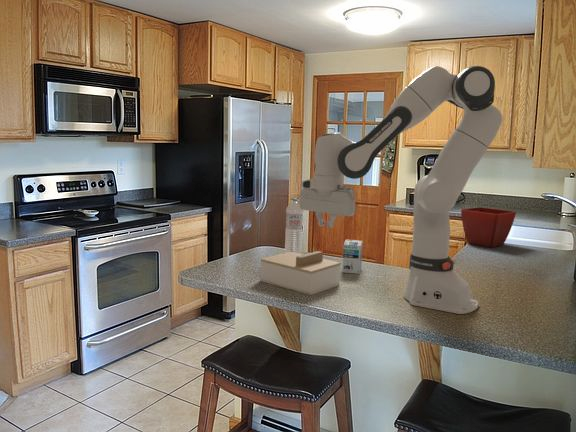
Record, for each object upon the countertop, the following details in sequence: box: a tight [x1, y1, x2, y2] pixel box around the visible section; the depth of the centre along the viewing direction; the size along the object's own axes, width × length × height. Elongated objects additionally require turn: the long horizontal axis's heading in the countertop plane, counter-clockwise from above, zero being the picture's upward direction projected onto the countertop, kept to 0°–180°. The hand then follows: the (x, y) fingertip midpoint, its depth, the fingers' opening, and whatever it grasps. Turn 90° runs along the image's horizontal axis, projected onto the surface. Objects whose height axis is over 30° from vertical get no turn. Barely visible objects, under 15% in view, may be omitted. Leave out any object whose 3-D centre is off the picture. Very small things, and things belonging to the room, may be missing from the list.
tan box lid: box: [260, 250, 341, 274], centre depth 170 cm, size 22×16×4 cm
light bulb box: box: [341, 238, 364, 275], centre depth 190 cm, size 11×7×11 cm, turn 168°
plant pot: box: [460, 207, 517, 248], centre depth 245 cm, size 19×19×17 cm
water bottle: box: [284, 197, 304, 254], centre depth 203 cm, size 7×7×25 cm
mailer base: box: [259, 260, 341, 296], centre depth 171 cm, size 22×16×7 cm
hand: (325, 226), depth 162 cm, fingers closed
